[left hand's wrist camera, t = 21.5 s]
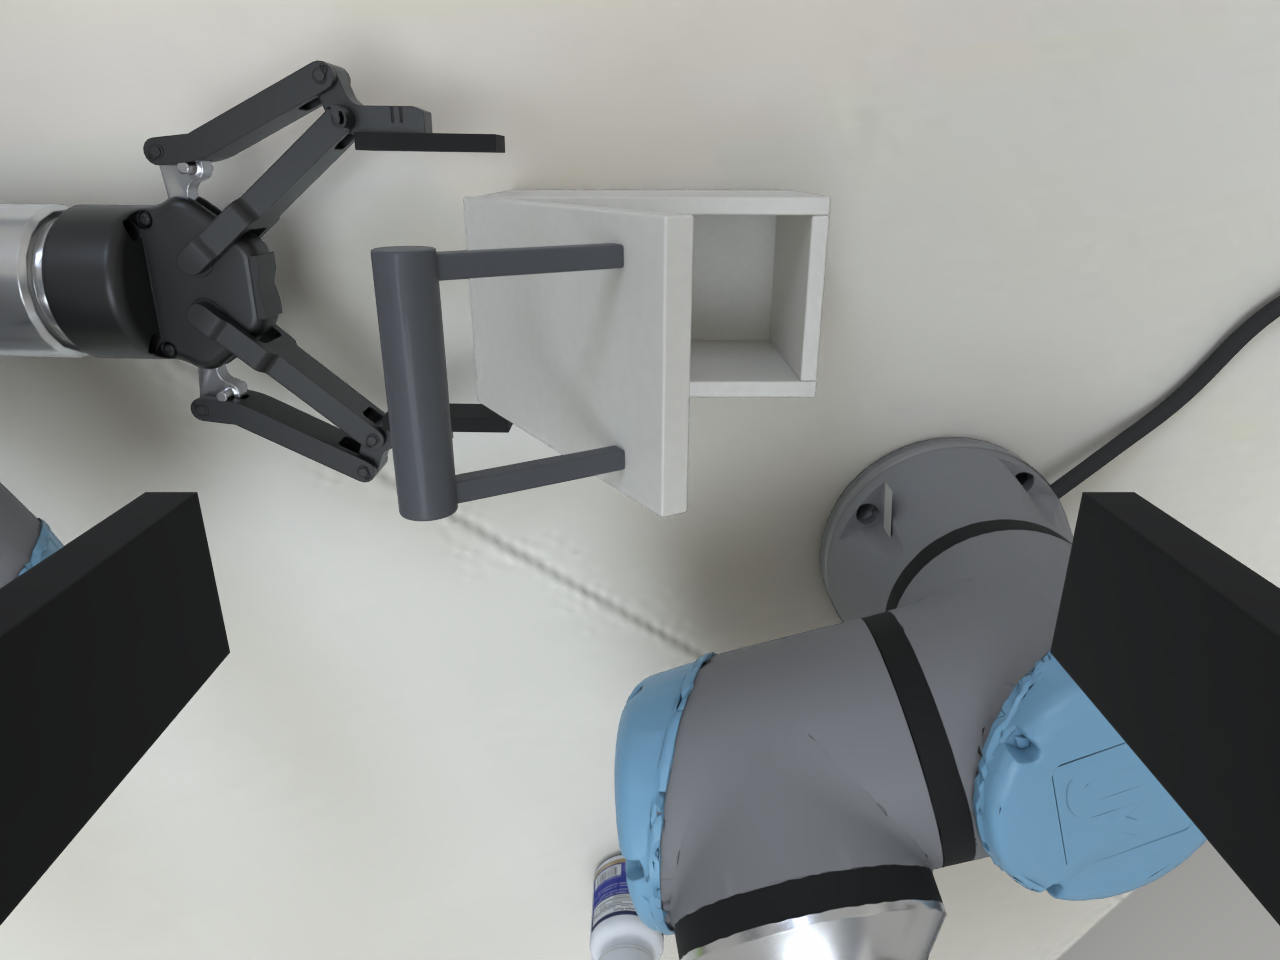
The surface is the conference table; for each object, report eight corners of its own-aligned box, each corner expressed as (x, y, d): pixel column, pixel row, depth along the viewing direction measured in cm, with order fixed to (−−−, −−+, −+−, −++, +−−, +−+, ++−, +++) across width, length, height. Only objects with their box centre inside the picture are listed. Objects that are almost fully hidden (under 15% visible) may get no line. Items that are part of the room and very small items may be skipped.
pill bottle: (661, 903, 65) (665, 1011, 57) (594, 904, 65) (588, 1012, 57) (661, 850, 63) (664, 955, 55) (592, 852, 63) (585, 956, 55)
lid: (695, 214, 23) (396, 224, 19) (688, 512, 26) (431, 575, 22) (484, 196, 36) (279, 200, 32) (496, 399, 39) (311, 425, 35)
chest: (789, 189, 46) (831, 196, 36) (779, 350, 50) (815, 397, 40) (511, 189, 46) (475, 196, 36) (519, 350, 50) (489, 397, 39)
